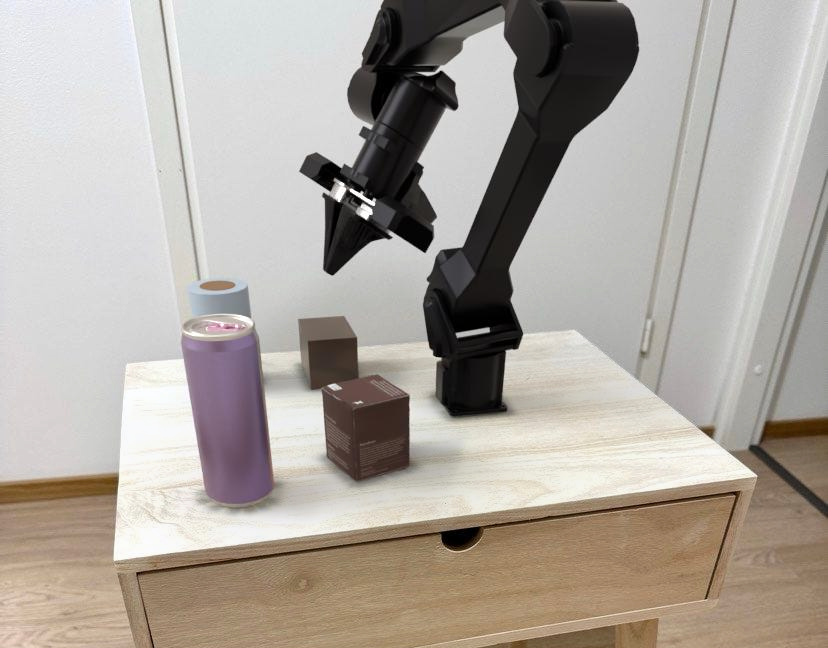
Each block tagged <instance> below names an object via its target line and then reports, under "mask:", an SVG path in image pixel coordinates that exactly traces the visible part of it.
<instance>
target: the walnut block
mask: <svg viewBox="0 0 828 648" xmlns="http://www.w3.org/2000/svg"><path fill="white" fill-rule="evenodd" d="M297 322H298V323H297V324H298V336H299V337H298V339H299V350H300V364H301V367H302V370H303V373H304V375H305V378H306V380H307V383H308V385H309V389H310V390H319V389H322V387H324V386H328V385H331V384H335V383H340V382H344V381H349V380H353V379H358V378H359V354H358V353H359V350H358V349H359V348H358V347H359V346H358V336H357V335H356V333H355V331H354V329H353V328H352V326H351V325H350V323H349V321H348V320H347V318H346V316H345V315H336V316H322V317H308V318H307V317H306V318H298V319H297Z"/></svg>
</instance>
